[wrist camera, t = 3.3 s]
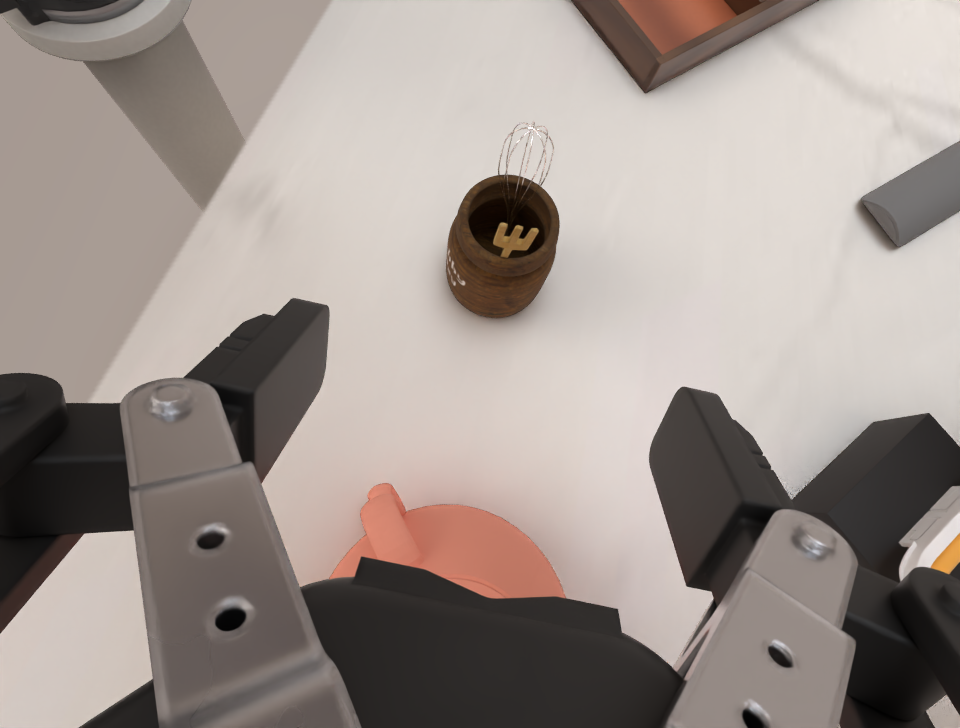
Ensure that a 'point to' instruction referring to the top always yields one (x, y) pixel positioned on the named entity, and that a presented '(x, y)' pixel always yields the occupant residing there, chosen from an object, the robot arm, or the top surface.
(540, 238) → the utensil holder
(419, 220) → the top surface
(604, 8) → the sorting tray
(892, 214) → the half round rod
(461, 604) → the robot arm
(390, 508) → the pink rounded pot
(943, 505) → the lamp
